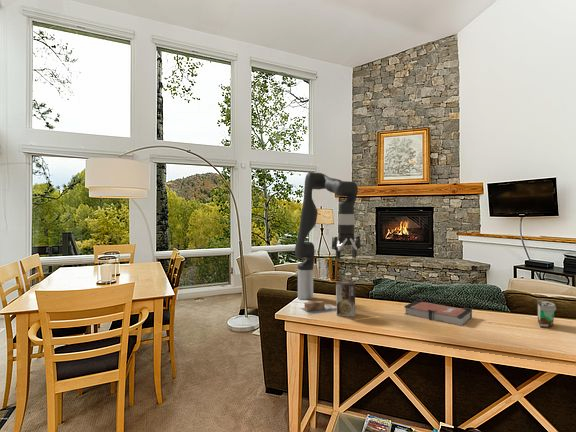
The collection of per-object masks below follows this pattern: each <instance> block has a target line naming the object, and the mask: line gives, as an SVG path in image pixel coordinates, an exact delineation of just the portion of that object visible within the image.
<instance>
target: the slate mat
mask: <svg viewBox="0 0 576 432" xmlns="http://www.w3.org/2000/svg"><path fill="white" fill-rule="evenodd" d="M300 310H302V311H304V312H305V313H306V314H308V315H311V316H312V315H317V314H318V315H319V314H326V313H327V314H328V313H333V312H334V313H336V310H330V311H326V310H319V311H311V312H306V311H305V307H300Z"/></svg>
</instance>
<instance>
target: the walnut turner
mask: <svg viewBox="0 0 576 432" xmlns="http://www.w3.org/2000/svg"><path fill="white" fill-rule="evenodd" d="M304 308H305V311H306V312H305V311H304V312H305V313H307V312H311V311H319V310H326V311H330V310H336V306H334V305H332V304H330V303H329V304H325V301H323V300H317V301H316V300H315V301H308V302H307V301H305V302H304Z"/></svg>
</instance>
